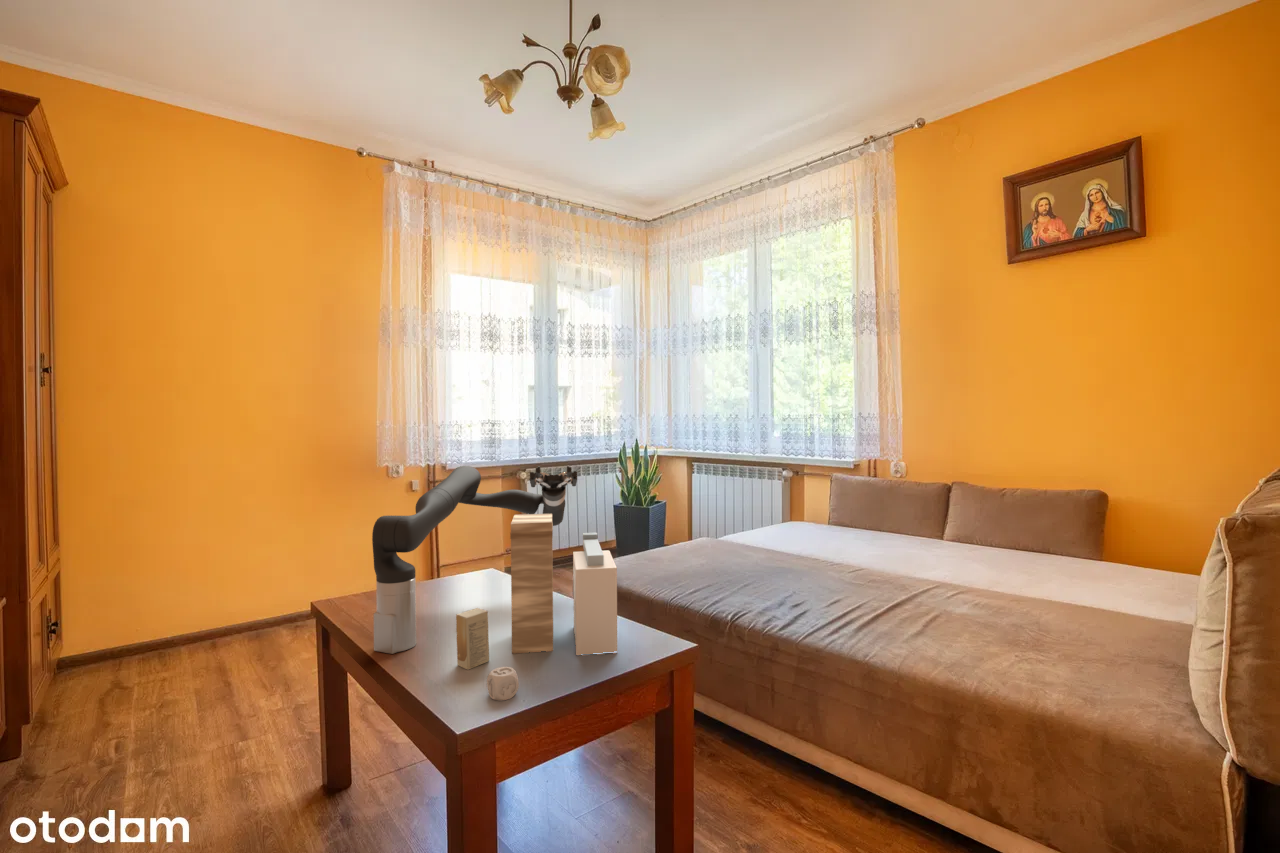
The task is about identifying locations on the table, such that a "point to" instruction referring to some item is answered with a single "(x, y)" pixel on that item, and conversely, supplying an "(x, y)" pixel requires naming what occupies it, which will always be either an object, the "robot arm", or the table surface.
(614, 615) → the block
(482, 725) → the table surface
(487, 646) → the skincare box
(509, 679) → the die
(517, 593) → the tall brown wood-grain block
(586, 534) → the pale blue-grey block
